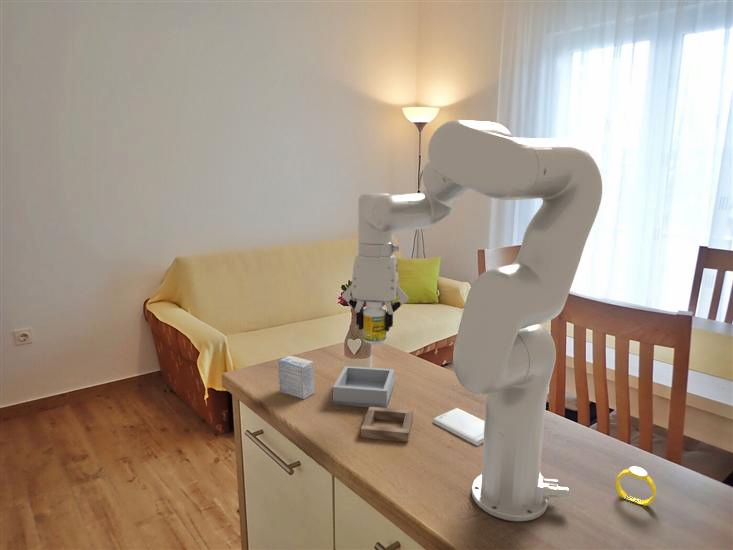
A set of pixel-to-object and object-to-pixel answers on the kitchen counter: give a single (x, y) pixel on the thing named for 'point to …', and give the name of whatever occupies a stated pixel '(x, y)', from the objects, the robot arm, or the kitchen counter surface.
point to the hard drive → (462, 425)
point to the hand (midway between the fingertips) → (374, 327)
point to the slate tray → (364, 387)
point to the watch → (638, 474)
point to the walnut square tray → (387, 432)
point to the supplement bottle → (374, 322)
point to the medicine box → (296, 377)
